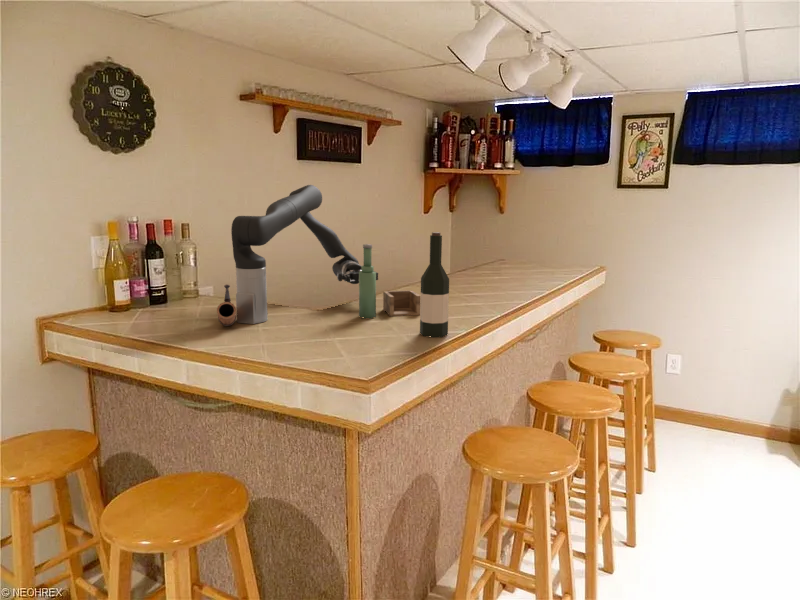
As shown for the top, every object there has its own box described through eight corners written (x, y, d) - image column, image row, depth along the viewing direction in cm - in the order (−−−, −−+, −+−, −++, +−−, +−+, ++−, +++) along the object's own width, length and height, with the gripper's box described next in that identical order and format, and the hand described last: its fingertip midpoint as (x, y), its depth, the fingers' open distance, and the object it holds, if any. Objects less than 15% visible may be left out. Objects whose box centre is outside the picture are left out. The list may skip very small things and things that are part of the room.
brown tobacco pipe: (217, 334, 172) (216, 300, 170) (219, 313, 200) (218, 284, 198) (237, 333, 174) (235, 300, 172) (236, 312, 202) (235, 283, 200)
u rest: (420, 314, 201) (420, 295, 200) (390, 316, 199) (390, 296, 197) (411, 308, 211) (412, 290, 210) (383, 309, 209) (383, 291, 207)
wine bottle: (445, 338, 171) (448, 234, 165) (417, 336, 173) (419, 233, 167) (449, 331, 179) (452, 231, 173) (422, 329, 181) (424, 231, 175)
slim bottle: (372, 319, 194) (373, 245, 190) (356, 317, 196) (356, 245, 191) (377, 315, 200) (378, 244, 195) (362, 314, 201) (362, 243, 197)
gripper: (333, 262, 218) (340, 268, 203) (371, 261, 222) (381, 267, 207) (334, 282, 220) (341, 290, 205) (371, 281, 224) (381, 289, 208)
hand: (361, 279), depth 206 cm, fingers open, 8 cm apart
